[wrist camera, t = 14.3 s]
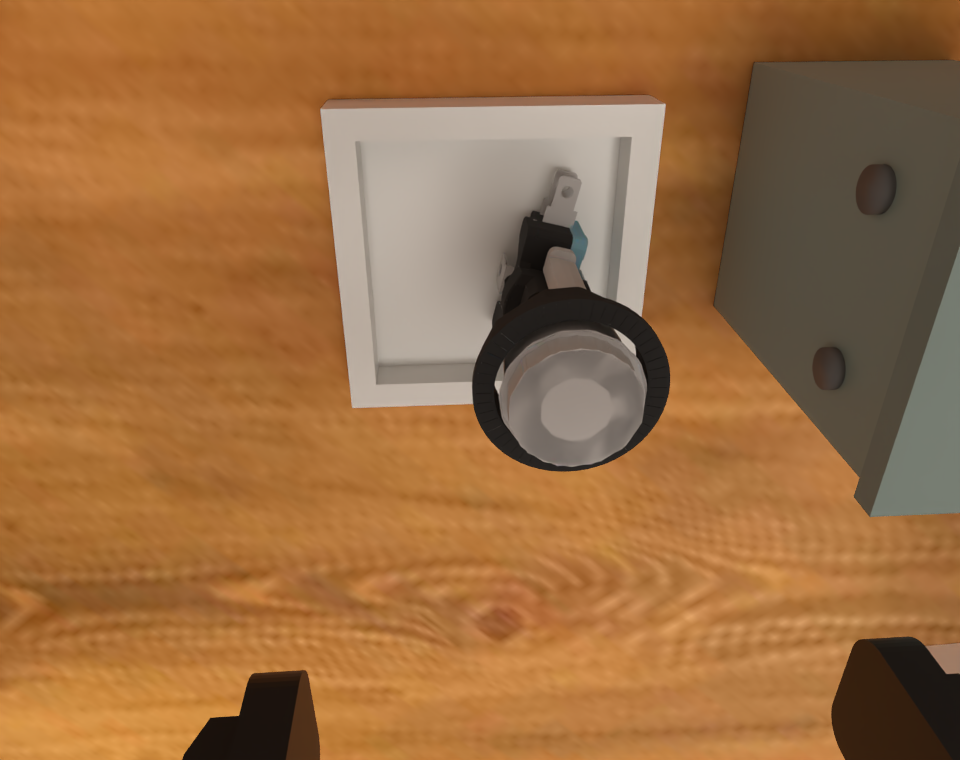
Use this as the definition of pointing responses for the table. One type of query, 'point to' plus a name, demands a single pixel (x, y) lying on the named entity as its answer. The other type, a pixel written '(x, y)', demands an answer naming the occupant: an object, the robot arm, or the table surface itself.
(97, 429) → the table surface
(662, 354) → the push button
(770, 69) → the box
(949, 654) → the bookend
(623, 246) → the tray
